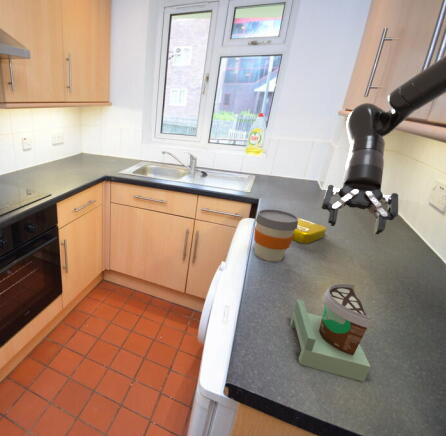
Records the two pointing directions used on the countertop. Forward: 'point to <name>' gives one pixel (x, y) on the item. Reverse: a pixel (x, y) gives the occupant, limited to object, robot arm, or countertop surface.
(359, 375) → the green stand base
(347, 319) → the food container
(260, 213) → the reusable coffee cup
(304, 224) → the yellow flat block
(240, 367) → the countertop surface
